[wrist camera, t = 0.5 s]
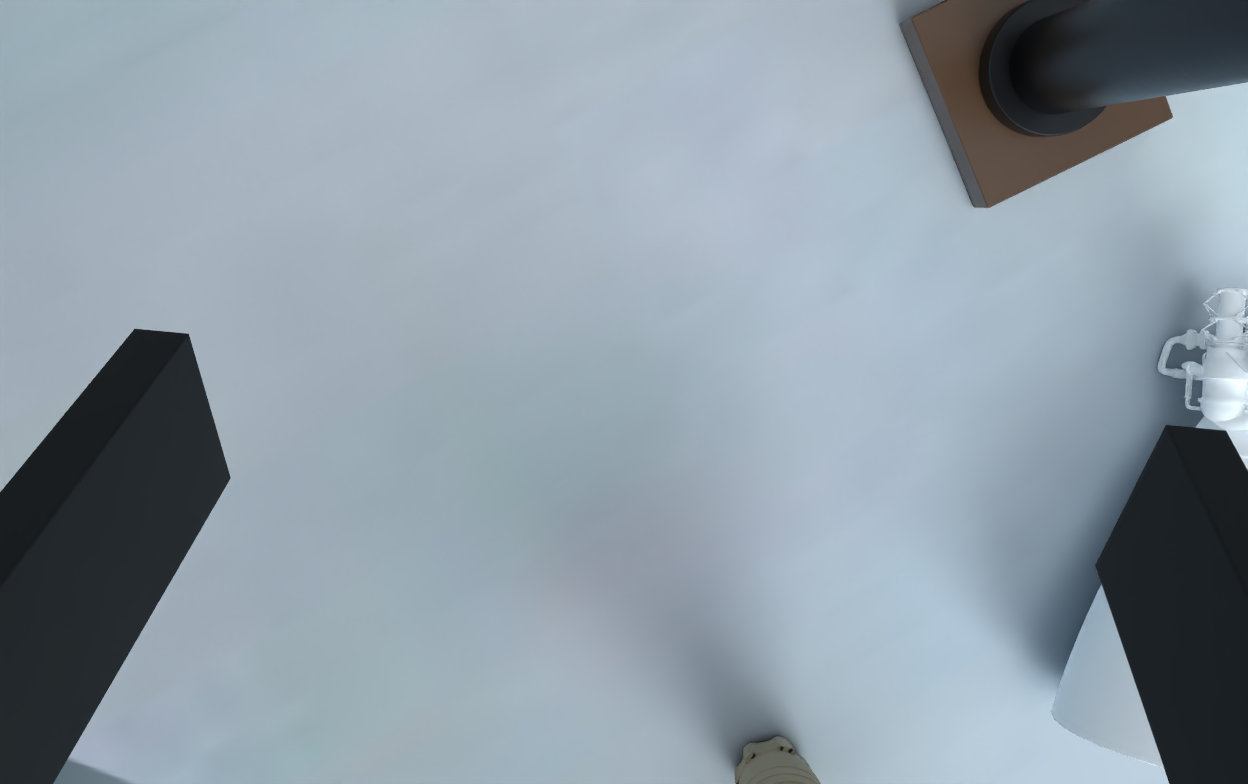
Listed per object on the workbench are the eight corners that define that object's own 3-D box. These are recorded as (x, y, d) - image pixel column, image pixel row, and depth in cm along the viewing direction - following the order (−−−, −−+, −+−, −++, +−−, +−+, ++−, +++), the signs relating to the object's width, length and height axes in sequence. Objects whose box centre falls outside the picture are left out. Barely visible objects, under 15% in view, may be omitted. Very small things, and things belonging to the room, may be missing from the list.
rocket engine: (1401, 267, 33) (1353, 824, 32) (1448, 320, 41) (1411, 766, 40) (1046, 277, 41) (1003, 721, 40) (1144, 319, 49) (1110, 690, 49)
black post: (898, 24, 40) (1205, -140, 20) (1083, -69, 40) (1576, -326, 20) (973, 208, 42) (1325, 220, 22) (1152, 120, 41) (1673, 53, 22)
